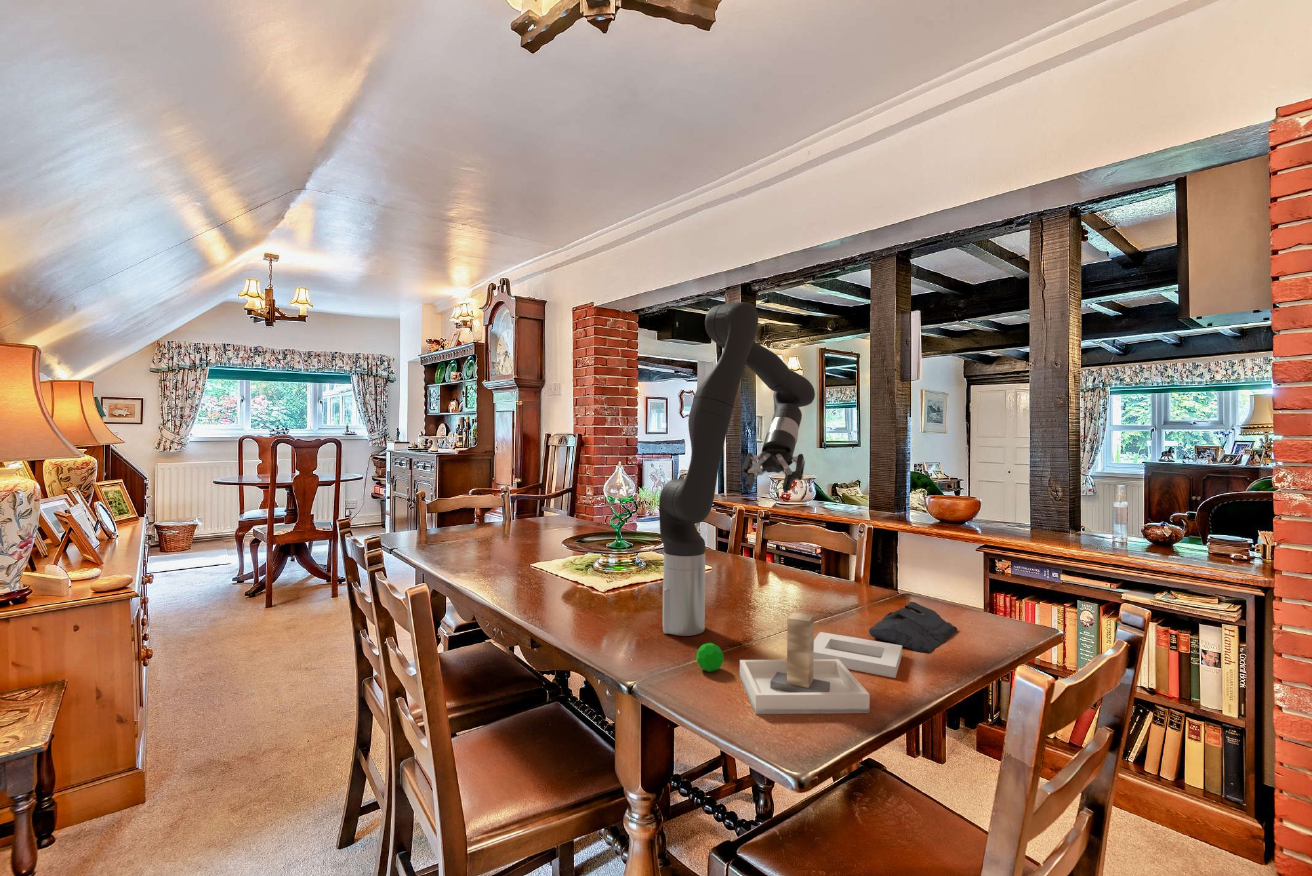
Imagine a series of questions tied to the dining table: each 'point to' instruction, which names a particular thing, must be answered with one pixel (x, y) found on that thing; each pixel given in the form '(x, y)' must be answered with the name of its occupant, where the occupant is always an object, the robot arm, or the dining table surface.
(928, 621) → the dark slate chunk
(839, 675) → the tray
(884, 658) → the slot plate
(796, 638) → the wooden post on base
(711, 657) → the polyhedron
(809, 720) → the dining table surface
